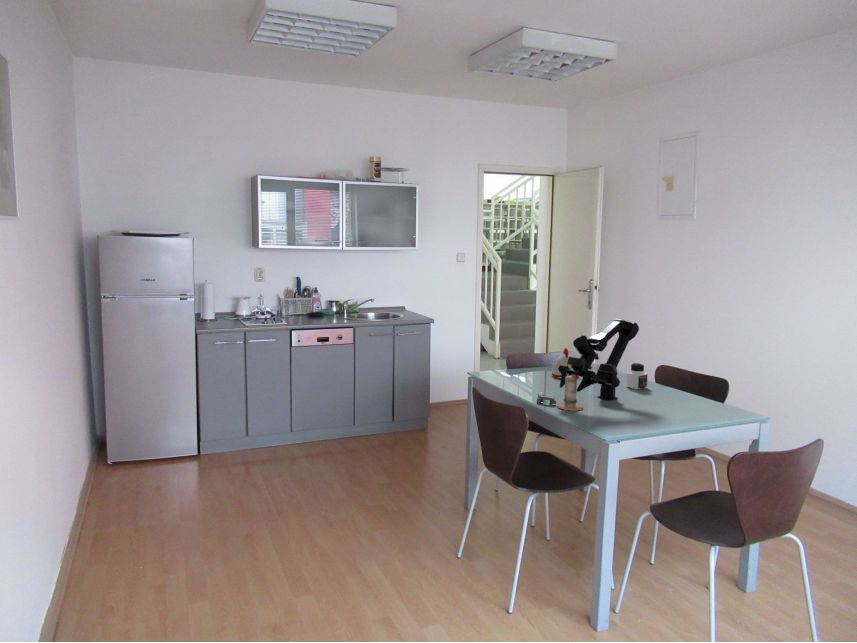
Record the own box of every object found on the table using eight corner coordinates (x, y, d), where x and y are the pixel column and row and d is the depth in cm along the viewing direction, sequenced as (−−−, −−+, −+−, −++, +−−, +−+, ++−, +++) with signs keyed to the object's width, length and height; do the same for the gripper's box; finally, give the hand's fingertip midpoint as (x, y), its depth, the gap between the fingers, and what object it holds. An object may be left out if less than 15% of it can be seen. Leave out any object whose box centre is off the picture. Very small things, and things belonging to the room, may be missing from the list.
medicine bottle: (638, 390, 310) (639, 365, 309) (625, 387, 316) (627, 363, 315) (647, 388, 315) (648, 364, 313) (634, 385, 320) (636, 361, 319)
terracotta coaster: (570, 403, 285) (570, 401, 285) (588, 408, 276) (588, 407, 276) (551, 406, 280) (551, 405, 280) (569, 412, 270) (569, 411, 270)
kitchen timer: (554, 378, 333) (555, 350, 331) (549, 373, 347) (549, 346, 345) (581, 378, 334) (582, 350, 332) (574, 373, 347) (575, 346, 345)
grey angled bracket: (541, 398, 294) (541, 391, 293) (560, 404, 283) (560, 397, 283) (529, 399, 290) (529, 393, 290) (548, 406, 279) (548, 399, 279)
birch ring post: (563, 404, 281) (564, 375, 279) (576, 405, 280) (577, 375, 278) (563, 407, 275) (564, 378, 274) (576, 408, 274) (577, 378, 273)
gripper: (561, 346, 284) (543, 374, 279) (595, 353, 270) (578, 382, 264) (571, 362, 290) (555, 389, 285) (606, 368, 275) (589, 397, 270)
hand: (568, 389), depth 276 cm, fingers open, 9 cm apart
